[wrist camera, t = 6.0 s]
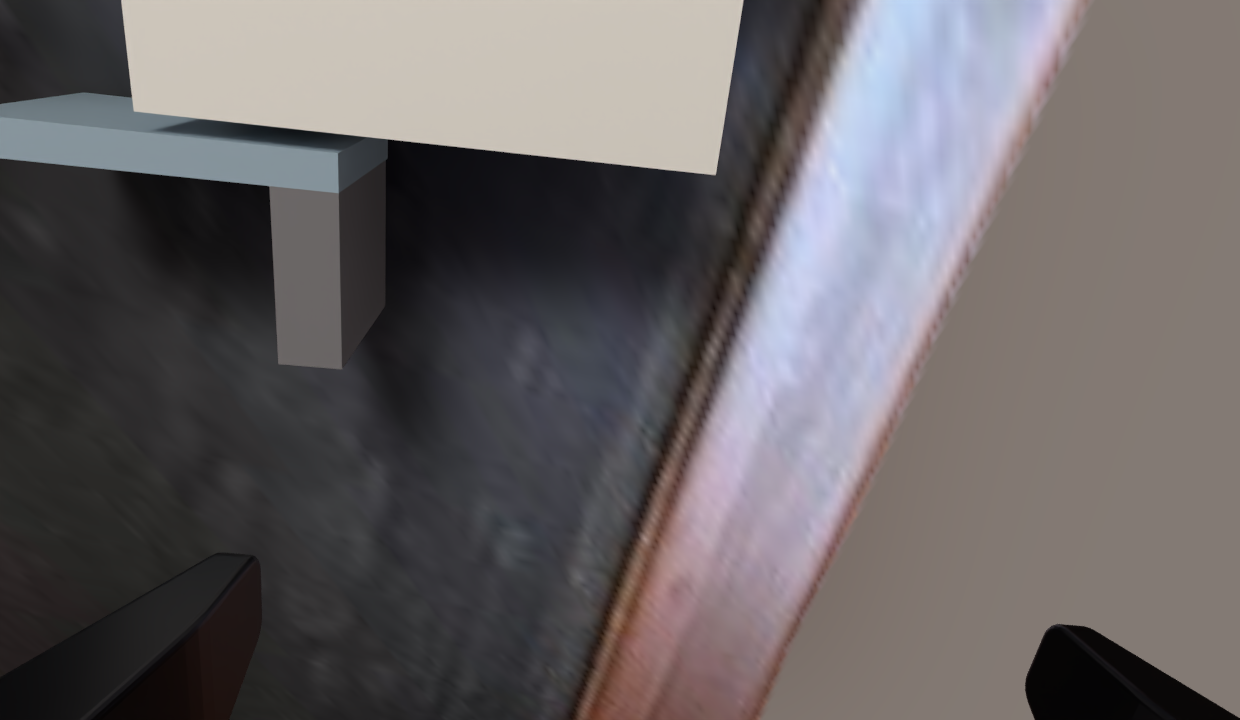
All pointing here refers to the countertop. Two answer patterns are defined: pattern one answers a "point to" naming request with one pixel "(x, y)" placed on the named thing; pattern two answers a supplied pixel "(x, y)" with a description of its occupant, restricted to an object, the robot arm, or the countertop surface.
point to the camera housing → (451, 72)
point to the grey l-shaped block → (252, 154)
